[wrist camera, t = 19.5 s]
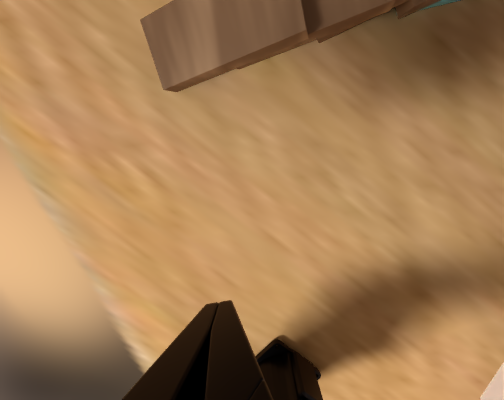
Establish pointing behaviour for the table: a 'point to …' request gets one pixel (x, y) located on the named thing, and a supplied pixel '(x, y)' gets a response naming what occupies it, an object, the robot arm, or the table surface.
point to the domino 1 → (218, 36)
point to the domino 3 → (412, 6)
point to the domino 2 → (334, 18)
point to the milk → (495, 387)
